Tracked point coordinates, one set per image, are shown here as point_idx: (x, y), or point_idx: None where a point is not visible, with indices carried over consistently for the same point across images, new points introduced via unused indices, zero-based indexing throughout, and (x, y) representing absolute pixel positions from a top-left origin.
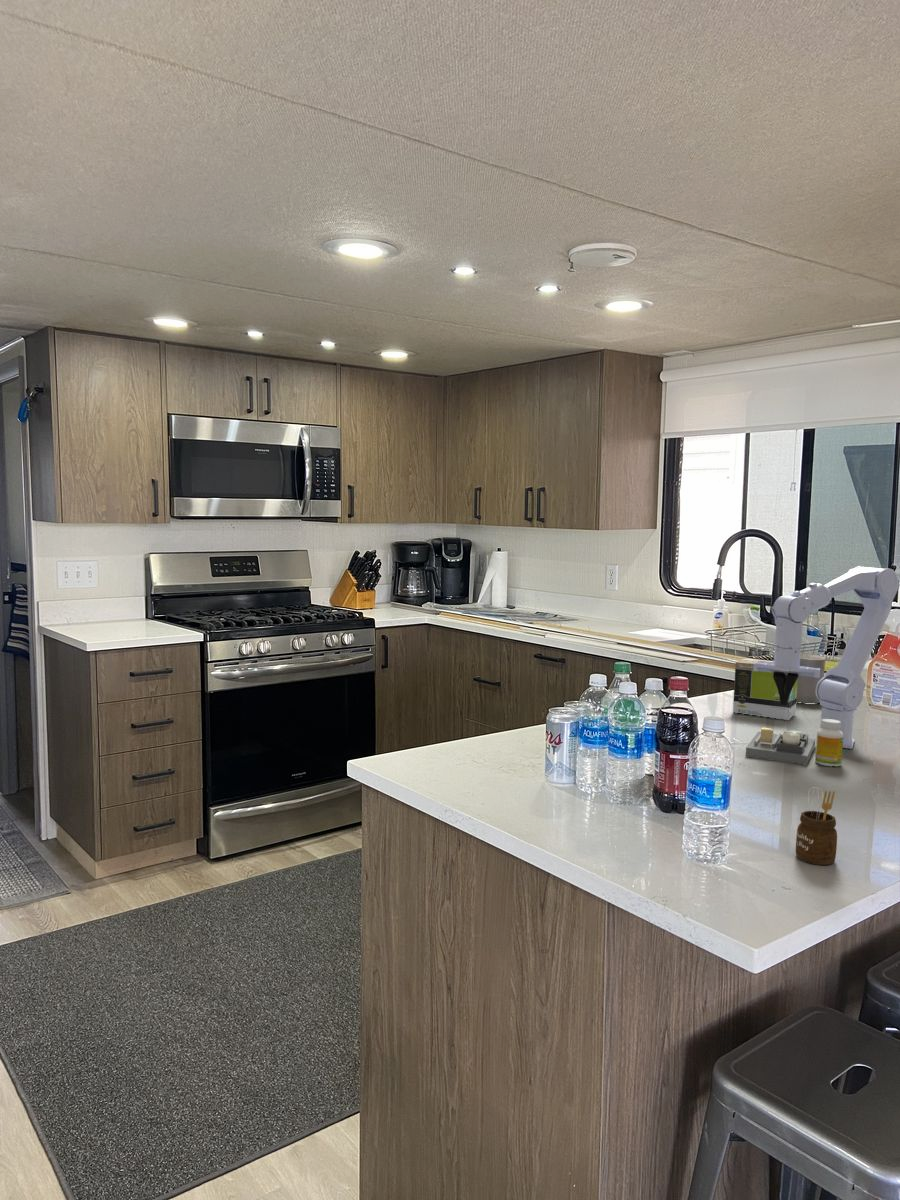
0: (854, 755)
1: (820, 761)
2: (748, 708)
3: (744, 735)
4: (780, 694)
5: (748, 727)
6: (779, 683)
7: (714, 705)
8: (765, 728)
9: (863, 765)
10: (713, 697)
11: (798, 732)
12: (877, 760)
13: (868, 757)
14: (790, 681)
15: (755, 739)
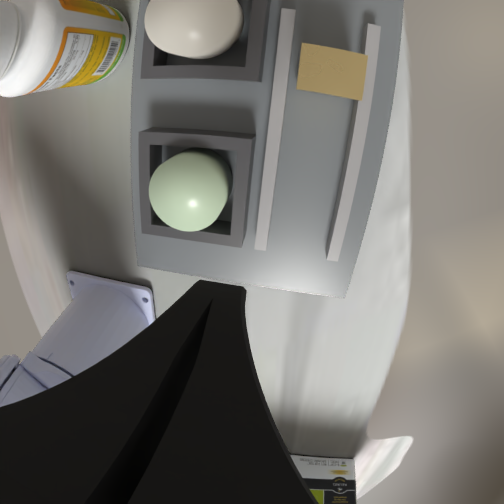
0: (50, 208)
1: (110, 6)
2: (326, 469)
3: (376, 317)
4: (233, 343)
5: (345, 394)
6: (226, 455)
7: (374, 475)
8: (342, 78)
9: (22, 103)
10: (361, 494)
11: (170, 196)
12: (10, 184)
13: (27, 204)
14: (33, 438)
15: (370, 152)
